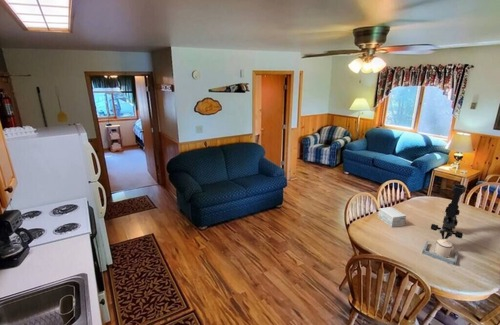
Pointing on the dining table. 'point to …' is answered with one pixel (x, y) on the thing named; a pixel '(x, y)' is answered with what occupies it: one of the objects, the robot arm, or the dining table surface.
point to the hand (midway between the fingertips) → (443, 241)
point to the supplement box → (391, 216)
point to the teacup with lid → (443, 247)
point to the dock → (439, 256)
